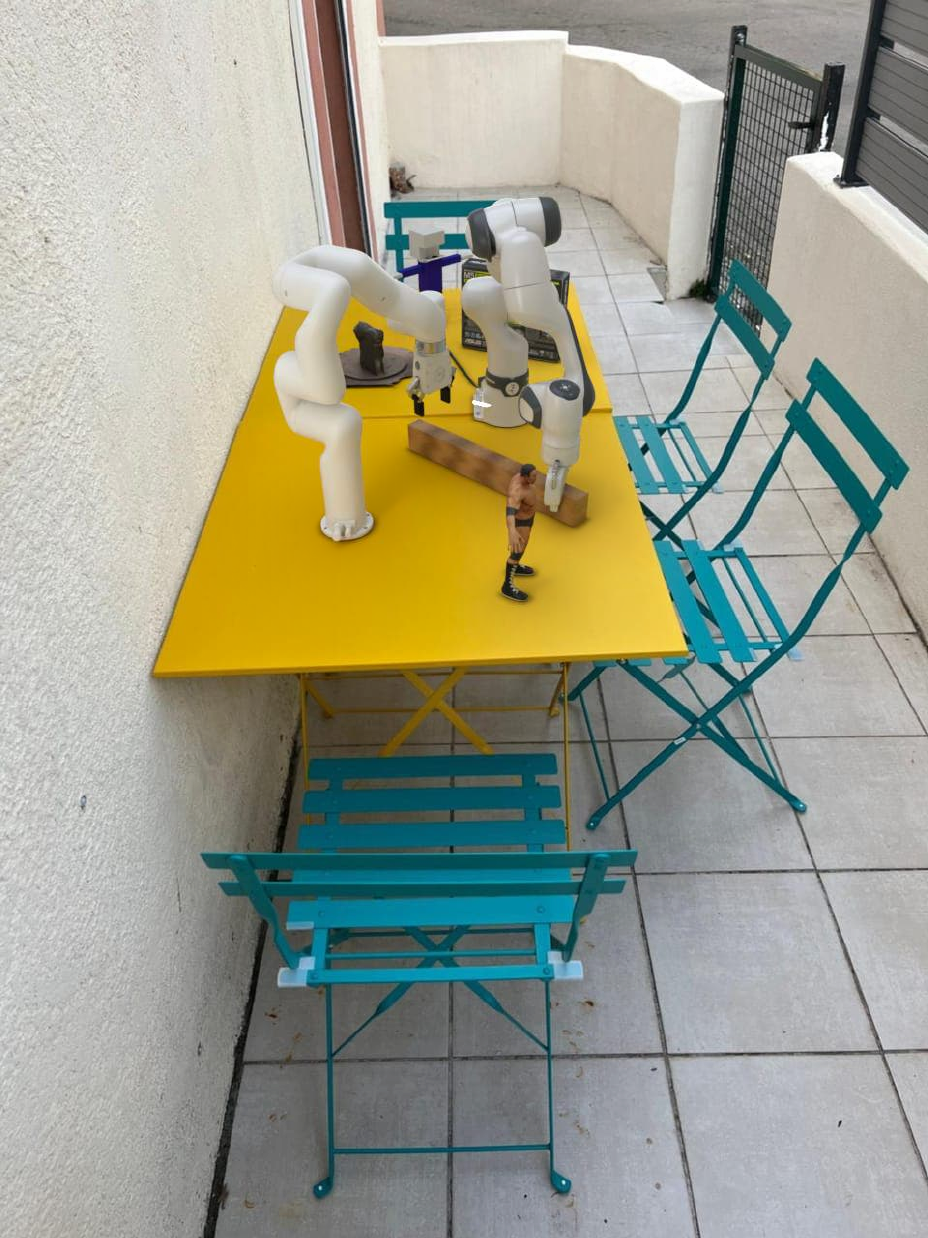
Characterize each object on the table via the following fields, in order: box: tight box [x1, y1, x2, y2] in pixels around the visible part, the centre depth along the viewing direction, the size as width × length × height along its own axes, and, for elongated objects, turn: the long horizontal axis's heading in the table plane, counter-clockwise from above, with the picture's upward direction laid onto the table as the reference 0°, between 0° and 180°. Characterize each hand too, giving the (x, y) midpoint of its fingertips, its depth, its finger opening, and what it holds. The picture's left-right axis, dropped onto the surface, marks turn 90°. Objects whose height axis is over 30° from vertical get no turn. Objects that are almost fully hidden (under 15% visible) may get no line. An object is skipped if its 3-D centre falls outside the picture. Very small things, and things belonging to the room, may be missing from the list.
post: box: [407, 418, 589, 528], centre depth 224 cm, size 56×5×8 cm, turn 48°
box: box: [460, 257, 571, 363], centre depth 279 cm, size 34×7×27 cm, turn 68°
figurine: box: [500, 463, 538, 602], centre depth 184 cm, size 24×6×30 cm, turn 168°
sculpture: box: [339, 320, 414, 387], centre depth 273 cm, size 33×35×16 cm
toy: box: [388, 223, 474, 295], centre depth 298 cm, size 35×10×30 cm, turn 130°
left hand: (432, 408), depth 228 cm, fingers open, 9 cm apart
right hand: (556, 501), depth 214 cm, fingers closed on post, 6 cm apart
